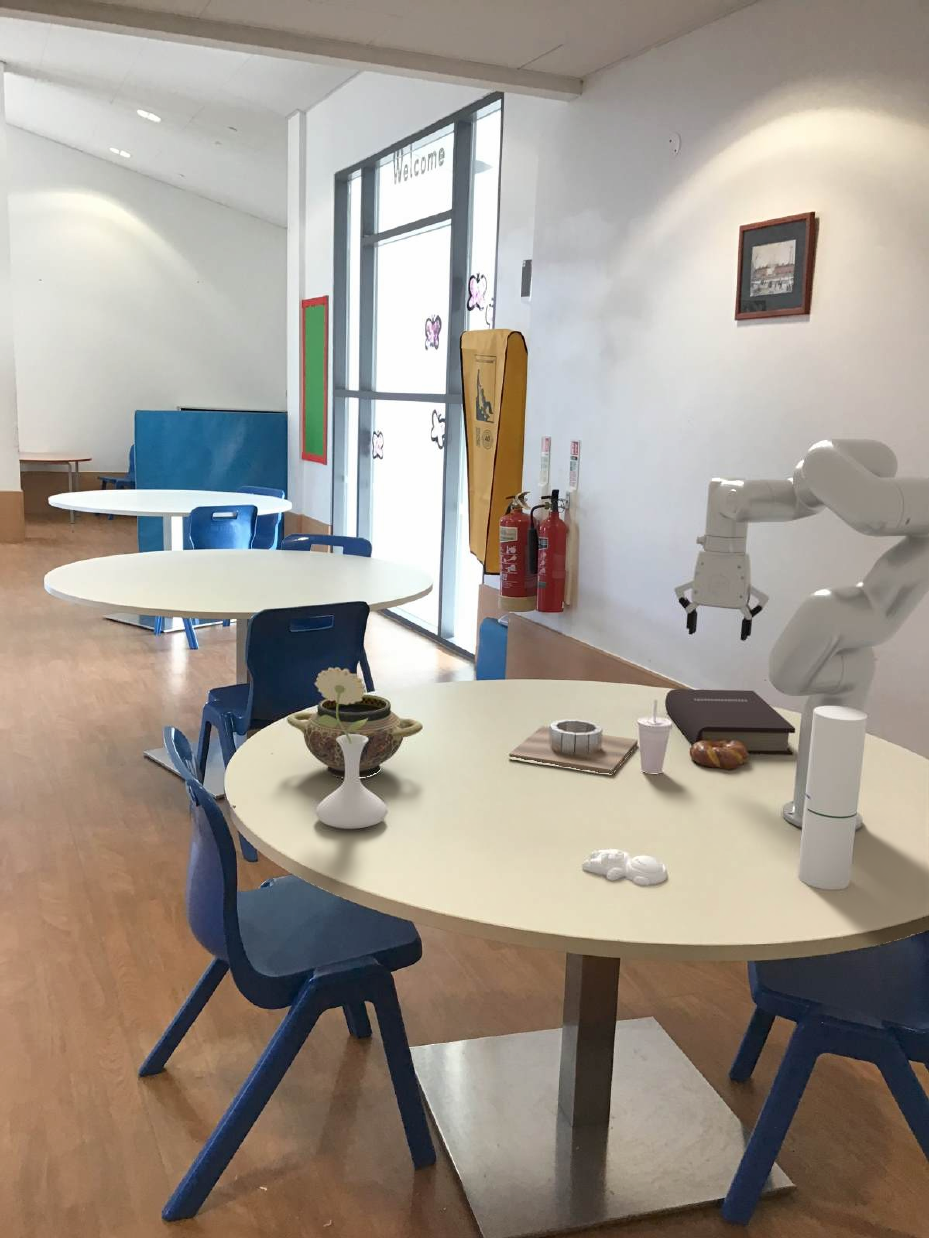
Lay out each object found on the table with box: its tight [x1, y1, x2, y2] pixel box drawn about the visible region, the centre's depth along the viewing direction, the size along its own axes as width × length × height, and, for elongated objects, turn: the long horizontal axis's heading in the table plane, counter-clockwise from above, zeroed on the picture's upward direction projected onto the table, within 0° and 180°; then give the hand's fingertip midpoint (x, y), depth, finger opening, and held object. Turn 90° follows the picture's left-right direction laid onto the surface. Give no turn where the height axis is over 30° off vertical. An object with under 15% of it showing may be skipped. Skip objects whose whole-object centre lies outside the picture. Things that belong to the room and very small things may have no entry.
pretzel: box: [689, 739, 750, 770], centre depth 207 cm, size 12×11×4 cm
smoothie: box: [636, 698, 673, 773], centre depth 198 cm, size 6×6×14 cm
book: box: [664, 688, 796, 756], centre depth 225 cm, size 28×20×6 cm
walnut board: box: [508, 725, 639, 774], centre depth 209 cm, size 20×20×1 cm
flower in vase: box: [314, 666, 388, 830], centre depth 170 cm, size 13×11×25 cm
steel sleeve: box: [549, 718, 603, 755], centre depth 209 cm, size 10×10×4 cm
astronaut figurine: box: [581, 848, 668, 886], centre depth 157 cm, size 9×12×3 cm
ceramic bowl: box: [286, 694, 423, 778], centre depth 193 cm, size 24×18×15 cm
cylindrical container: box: [797, 706, 868, 891], centre depth 153 cm, size 7×7×25 cm
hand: (717, 636), depth 201 cm, fingers open, 9 cm apart
